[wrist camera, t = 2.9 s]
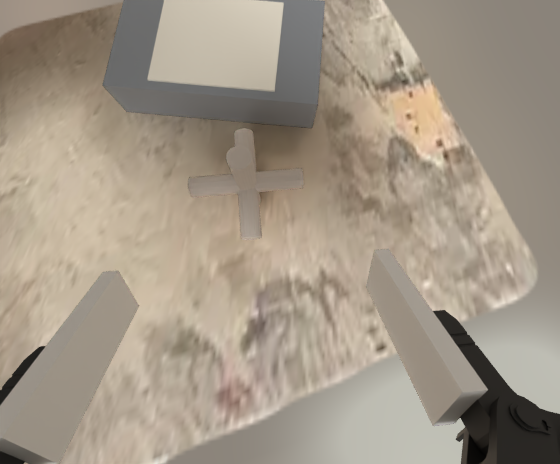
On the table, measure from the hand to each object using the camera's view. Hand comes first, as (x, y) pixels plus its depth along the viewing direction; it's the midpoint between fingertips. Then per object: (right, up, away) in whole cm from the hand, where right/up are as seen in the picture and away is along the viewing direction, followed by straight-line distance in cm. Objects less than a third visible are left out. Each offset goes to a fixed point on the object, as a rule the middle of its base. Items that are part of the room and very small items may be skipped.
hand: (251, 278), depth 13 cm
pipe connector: (-1, +6, +14) cm, 15 cm away
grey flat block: (-5, +22, +17) cm, 28 cm away
